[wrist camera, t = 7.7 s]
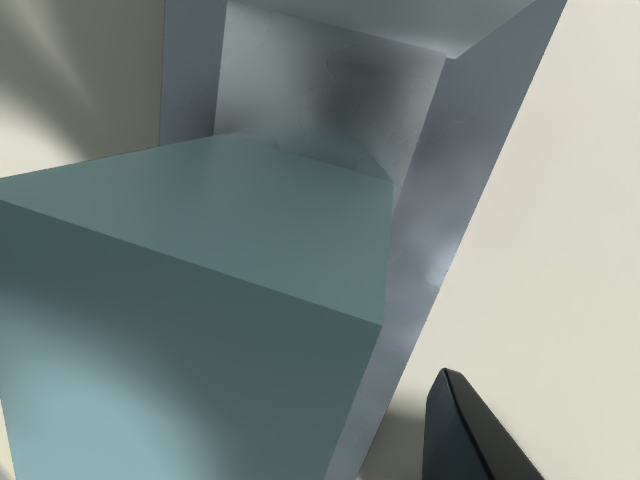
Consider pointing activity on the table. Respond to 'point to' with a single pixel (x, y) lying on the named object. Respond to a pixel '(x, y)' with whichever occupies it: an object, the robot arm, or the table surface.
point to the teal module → (187, 312)
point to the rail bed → (360, 138)
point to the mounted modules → (407, 18)
